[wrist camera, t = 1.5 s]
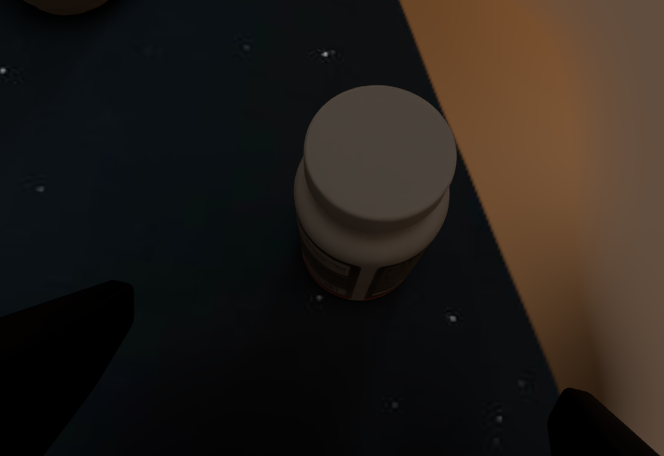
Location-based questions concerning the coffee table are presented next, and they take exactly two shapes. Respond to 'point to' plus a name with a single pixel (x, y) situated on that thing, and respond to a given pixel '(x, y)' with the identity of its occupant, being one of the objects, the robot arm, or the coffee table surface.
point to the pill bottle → (372, 189)
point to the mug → (66, 6)
